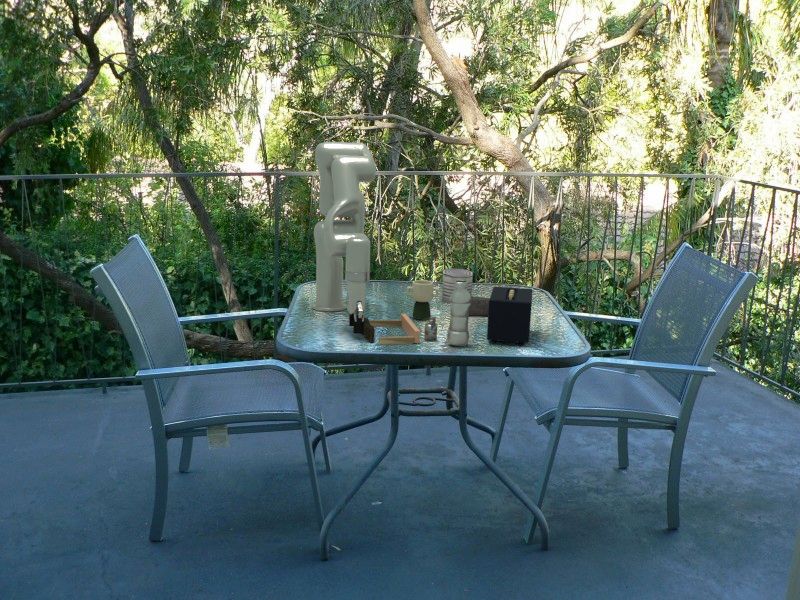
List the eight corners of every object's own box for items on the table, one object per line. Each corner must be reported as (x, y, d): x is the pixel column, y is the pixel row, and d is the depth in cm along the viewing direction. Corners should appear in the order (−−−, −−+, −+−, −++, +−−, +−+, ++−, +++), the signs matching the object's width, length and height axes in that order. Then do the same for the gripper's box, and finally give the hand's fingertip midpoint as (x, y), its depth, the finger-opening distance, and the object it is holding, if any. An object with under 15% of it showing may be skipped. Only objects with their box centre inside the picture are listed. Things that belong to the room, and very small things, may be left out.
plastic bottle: (445, 342, 260) (448, 279, 255) (467, 342, 260) (470, 279, 256) (448, 347, 253) (451, 283, 249) (470, 348, 254) (473, 283, 250)
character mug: (437, 317, 292) (438, 280, 289) (437, 322, 285) (438, 284, 282) (406, 315, 292) (407, 279, 289) (405, 320, 285) (406, 283, 282)
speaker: (491, 328, 280) (493, 284, 276) (529, 330, 277) (532, 286, 274) (486, 344, 259) (489, 297, 255) (528, 347, 257) (531, 300, 253)
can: (469, 299, 322) (470, 268, 319) (473, 306, 311) (475, 274, 308) (439, 298, 321) (441, 268, 319) (443, 305, 310) (444, 273, 308)
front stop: (400, 325, 279) (400, 313, 278) (405, 325, 279) (405, 313, 278) (414, 343, 257) (415, 331, 256) (419, 343, 257) (420, 331, 256)
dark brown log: (356, 328, 274) (356, 314, 273) (368, 328, 274) (369, 314, 273) (363, 344, 255) (363, 329, 254) (376, 344, 256) (376, 329, 255)
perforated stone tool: (499, 314, 299) (500, 295, 298) (501, 317, 294) (502, 298, 293) (457, 313, 299) (458, 294, 297) (459, 316, 294) (460, 297, 292)
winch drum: (422, 338, 264) (423, 312, 262) (435, 337, 264) (436, 312, 263) (427, 343, 258) (428, 317, 256) (439, 342, 259) (440, 317, 257)
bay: (367, 325, 277) (368, 320, 276) (400, 325, 279) (400, 319, 278) (379, 344, 255) (379, 338, 254) (414, 343, 257) (415, 337, 256)
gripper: (342, 271, 268) (341, 323, 272) (349, 282, 251) (348, 337, 255) (365, 271, 269) (364, 323, 273) (373, 282, 253) (372, 336, 257)
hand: (356, 329), depth 264 cm, fingers open, 9 cm apart
